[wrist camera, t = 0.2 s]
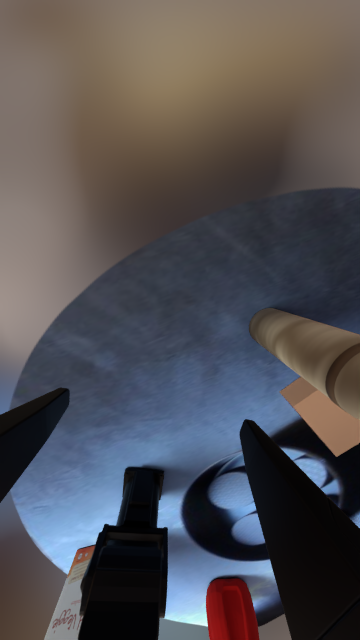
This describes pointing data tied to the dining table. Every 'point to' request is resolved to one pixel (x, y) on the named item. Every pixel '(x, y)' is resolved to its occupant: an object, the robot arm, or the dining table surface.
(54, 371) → the dining table surface
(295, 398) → the terracotta plinth
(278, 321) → the birch column
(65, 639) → the cracker box
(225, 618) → the red bottle
